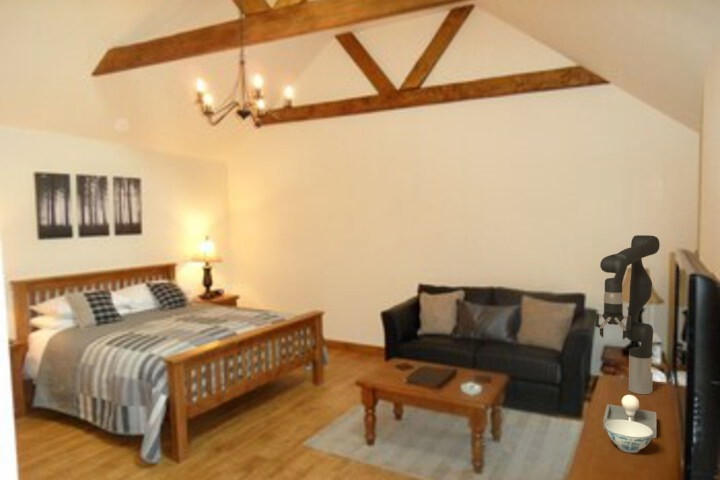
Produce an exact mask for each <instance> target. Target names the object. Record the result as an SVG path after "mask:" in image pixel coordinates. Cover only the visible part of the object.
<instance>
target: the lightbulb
mask: <svg viewBox="0 0 720 480" xmlns="http://www.w3.org/2000/svg"><path fill="white" fill-rule="evenodd" d="M621 406H622V407H624V409H625V411H626V414H627V420H629V421H634V415H635V412H636V410H637V409H639V407H640V401H639V399H638V398H637V396H635V395H633V394H626V395H624V396H623V397H621Z"/></svg>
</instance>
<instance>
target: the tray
mask: <svg viewBox="0 0 720 480" xmlns="http://www.w3.org/2000/svg"><path fill="white" fill-rule="evenodd" d="M603 415H604V416H603V421H602V423H603V427H602V428H603V429H604V430H606V422H607V421H610V420H627V414H626V411H625V409H624V407H623V406H622V405H621V406H620V405H614V404H610V403H609V404H608V403H607V404H606V407H605V411H604V414H603ZM634 422H638V423H641V424H643V425H646V426H647V427H649V428H650V429H651V430H652V431H653V435H652V438H651V439H655V438H656V439H657V412H656V411H651V410H645V409H639V408H638V409H637V410H636V412H635V415H634Z"/></svg>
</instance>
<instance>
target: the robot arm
mask: <svg viewBox="0 0 720 480" xmlns="http://www.w3.org/2000/svg"><path fill="white" fill-rule="evenodd" d="M660 246H661V245H660V240H659V238H658V237H657V236H655V235H648V234H647V235H644V234H643V235H642V234H641V235H640V234H639V235H637V234H636V235H634V236H633V237H632V239H631V241H630V247H628V248H624V249H623V250H620V251H619V252H617V253H614V254H610V255H607V256H605V257H603V258H602V259H601V261H600V264H599V265H600V269H601V271H603V272H605V273H608V274H609V273H610V274H615V275H614V276H613V277H609V278H605V280H604V295H603V314H602V313H599V312H597V313H596V314H595V324H594V326H595V327H596V328H598V329H599V336H601V338H604V330H605V329H604V327H605V326H606V325H607V324H608V325H614V326H617V325H619V327H620V328H621V329H622V340H626V339H627V340H629V341H633V342H638V343H640V346H638V347H637V346H636V347H632V348H629V352H628V361H629V362H628V391H629V392H631V393H634V394H638V395H650V394H651V393H653V381H654V379H653V377H654V375H653V372H652V352H653V342H654V340H653V339H654V328H653V326H652V324H650V323H644V322H639V321H638V320H639V316H640V313H641V310H643V308H644V307H645V306H646V305H647V304H648V302H649V300H650V299H651V297H652V290H653V282H652V279H651V277H650V275H649V273H648V272H647V270H646V268H645V266H644V264H643V259H644V258H645V257H649V256H652V255H655V254H656V253H658V251H659V250H660ZM630 265H631V270H630V281H629V298H628V299H629V302H628V312H627V315H624V314H623V313H624V297H623V282H624V278H625V275H626V273H627V269H628V266H630ZM601 318H603V319H604V320H603V322H602V323H601V324H599V323H600V319H601ZM623 320H625V321H626V322H625V323H626V324H624V322H623Z"/></svg>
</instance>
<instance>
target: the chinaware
mask: <svg viewBox="0 0 720 480" xmlns="http://www.w3.org/2000/svg"><path fill="white" fill-rule="evenodd" d="M605 430H606V433H607V435H608V436H609V438H610V439H611V441H612V442H613V443H614V444H615V445H616V446H617V448H618V449H619V450H621V451H622V452H625V453H630V454H637V453H639V452H640V450H642V449H644V448H646V446H648V445H649V443H651V440H652V439H653V438H652V435H653V431H652V430H651V429H650V428H649V427H647V426H646V425H643V424H641V423H638V422H634V421H629V420H610V421H607V422H606V429H605Z"/></svg>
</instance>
